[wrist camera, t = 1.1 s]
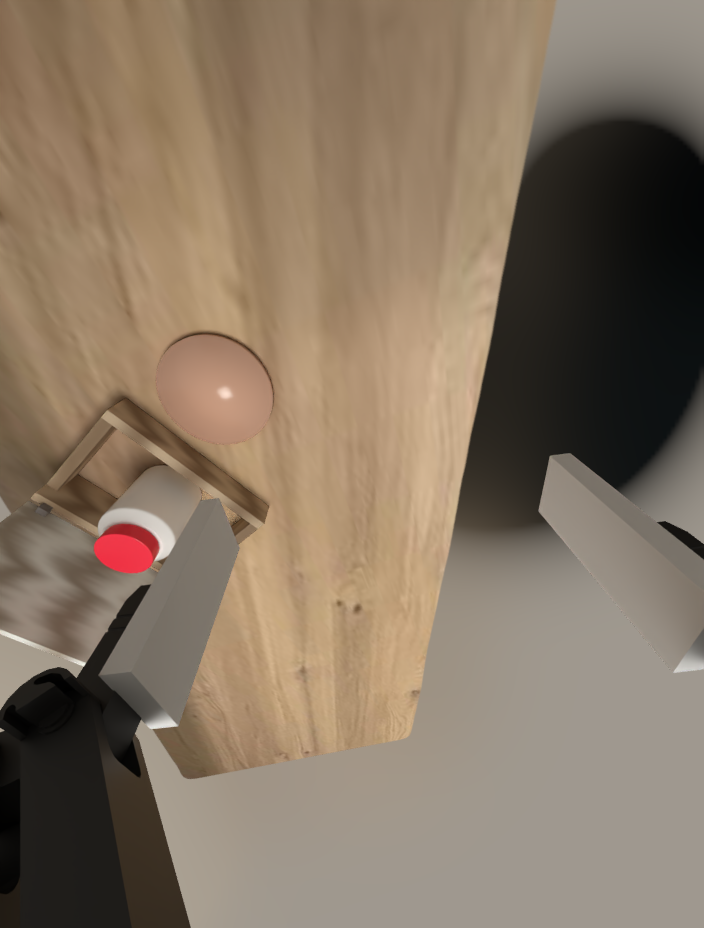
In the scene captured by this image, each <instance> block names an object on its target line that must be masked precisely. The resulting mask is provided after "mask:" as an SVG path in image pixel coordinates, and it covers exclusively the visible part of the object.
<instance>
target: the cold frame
mask: <svg viewBox="0 0 704 928" xmlns="http://www.w3.org/2000/svg"><path fill="white" fill-rule="evenodd" d="M116 429H118V430H119V431H121V432H122V433H124V434H125V435H126V436H128V437H129V438H131V439H132V440H133V441H135V442H136V443H138V444H139V445H140V446H142V447H143V448H145V449H146V450H147V451H149V452H150V453H152V454H153V455H155V456H156V457H157V458H159V459H160V460H162V461H163V462H164V463H166V464H167V465H169V466H170V467H171V468H173V469H174V470H176V471H177V472H178V473H180V474H181V475H183V476H184V477H186V478H187V479H188V480H190V481H191V482H193V483H194V484H195V485H197V486H198V487H200V488H201V489H202V490H204V491H205V492H207V493H208V494H209V495H211V496H212V497H214V498H215V499H216V498H219V499H220V502H221V503H222V504H224V505H225V506H226V507H228V508H229V509H231V510H232V511H233V512H235V513H236V514H238V515H239V516H240V517H242V518H241V519H240V520H239V521H238V522H236V523H235V524H234V525H233V526H232V527H231V528H232V531H233V533H234V536H235V538H236V540H237V543H238V544H240V543H241V542H242V541H243V540H245V539H246V538H247V537H248V536H250V535H251V534H252V533H253V532H255V531H256V530H257V529H258V528H260V527H261V526H262V525H263V524H264V523H265V519H266V516H267V512H268V509H269V506H268V505H266V504H265V503H264V502H263V501H261V500H260V499H259V498H257V497H256V496H255V495H253V494H252V493H251V492H249V491H248V490H247V489H245V488H244V487H243V486H241V485H240V484H239V483H238V482H236V481H235V480H234V479H232V478H231V477H230V476H228V475H227V474H226V473H224V472H223V471H222V470H220V469H219V468H218V467H216V466H215V465H214V464H212V463H211V462H210V461H209V460H207V459H206V458H205V457H203V456H202V455H201V454H199V453H198V452H197V451H195V450H194V449H193V448H191V447H190V446H189V445H187V444H186V443H185V442H183V441H182V440H181V439H180V438H178V437H177V436H176V435H174V434H173V433H172V432H170V431H169V430H168V429H166V428H165V427H164V426H162V425H161V424H160V423H158V422H157V421H156V420H155V419H153V418H152V417H151V416H149V415H148V414H147V413H145V412H144V411H143V410H141V409H140V408H139V407H137V406H136V405H135V404H133V403H132V402H131V401H129V400H128V399H127V398H125V399H124V400H122V401H121V402H119V403H117V404H116V405H114V406H113V407H111V408H109V409H108V410H107V411H106V412H105V413H104V414H103V416H102V417H101V418H100V419H99V421H98V422H97V423H96V424H95V425H94V427H93V428H92V429H91V430H90V432H89V433H88V434H87V435H86V436H85V438H84V439H83V440H82V441H81V443H80V444H79V445H78V446H77V447H76V449H75V450H74V451H73V452H72V454H71V455H70V456H69V457H68V458H67V460H66V461H65V462H64V463H63V465H62V466H61V467H60V468H59V469H58V471H57V472H56V473H55V474H54V476H53V477H52V478H51V479H50V480H49V482H48V483H47V484H46V485H45V486H44V487H42V488H41V489H40V490H38V491H37V492H36V493H35V494H34V495H33V496H32V498H31V499H32V500H34V501H36V502H38V503H39V504H41V505H40V506H37V505H35V504H34V503H32V502H30V501H28V502H27V503H25V504H24V505H23V506H21V507H20V508H19V509H17V510H16V511H15V512H14V513H12V514H11V515H10V516H9V517H7V518H6V519H4V520H3V521H2V522H0V634H1V635H4V636H6V637H9V638H12V639H14V640H17V641H19V642H22V643H24V644H27V645H30V646H32V647H35V648H37V649H40V650H43V651H45V652H48V653H50V654H53V655H56V656H58V657H61V658H63V659H66V660H68V661H71V662H74V663H76V664H79V665H81V666H85V664H86V662H87V661H88V659H89V658H90V656H91V655H92V653H93V651H94V650H95V648H96V647H97V645H98V643H99V642H100V640H101V639H102V637H103V636H104V634H105V632H108V628H109V626H110V624H111V623H112V621H113V620H114V619H116V615H117V613H118V612H119V610H120V609H121V607H122V606H123V604H124V602H125V601H126V599H127V598H129V597H130V596H131V595H132V594H133V593H134V592H135V591H136V590H137V589H138V588H139V587H140V586H141V585H150V584H152V583H153V581H154V579H155V578H156V576H157V574H158V572H156V571H154V570H153V569H151V568H148V569H147V570H145V571H143V572H139V573H123V572H119V571H116V570H113V569H111V568H109V567H107V566H106V565H104V564H103V563H102V562H101V561H100V560H99V559H98V558H97V556H96V555H95V552H94V544H95V542H96V541H97V538H95V537H93V536H91V535H89V534H88V533H86V532H84V531H82V530H80V529H79V528H77V527H75V526H73V525H71V524H70V523H68V522H66V521H64V520H62V519H61V518H59V517H57V516H55V515H53V514H52V513H50V512H51V510H52V511H54V512H55V513H57V514H59V515H61V516H63V517H64V518H66V519H68V520H70V521H72V522H73V523H75V524H77V525H79V526H81V527H82V528H84V529H86V530H88V531H90V532H91V533H93V534H95V535H97V536H98V537H100V536H99V533H98V523H99V520H100V518H101V517H102V515H103V514H104V513H105V512H106V511H107V510H108V509H109V508H110V507H111V506H112V505H113V504H114V503H115V502H116V500H117V499H116V498H115V497H113V496H111V495H110V494H108V493H106V492H105V491H103V490H102V489H100V488H98V487H97V486H95V485H94V484H92V483H90V482H89V481H87V480H86V479H84V478H82V477H81V476H79V475H78V473H79V472H80V471H81V470H82V469H83V468H84V466H85V465H86V464H87V463H88V462H89V461H90V459H91V458H92V457H93V456H94V455H95V454H96V452H97V451H98V450H99V449H100V448H101V447H102V445H103V444H104V443H105V442H106V441H107V440H108V438H109V437H110V436H111V435H112V434H113V432H114V431H115V430H116ZM167 557H168V556H167ZM167 557H165V558H164V559H161V560H159V561H154V562H153V563H152V565H151V566H152V567H154V568H156V569H158V570H159V571H160V569H161V567H162V566H163V564H164V562H165V560H166V559H167Z"/></svg>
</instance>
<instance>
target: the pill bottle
mask: <svg viewBox="0 0 704 928" xmlns="http://www.w3.org/2000/svg"><path fill="white" fill-rule="evenodd" d="M201 499H202V492H201V489H200V487H198V486H197V485H195V484H194V483H193V482H191V481H190V480H188V479H187V478H186V477H184V476H183V475H181V474H180V473H178V472H177V471H176V470H174V469H173V468H171V467H170V466H166V465H160V466H154V467H151V468H148V469H146V470H145V471H144V472H143V473H142V474H141V475H140V476H139V477H138V478H137V479H136V480H135V481H134V482H133V483H132V484H131V486H130V487H129V488H128V489H127V490H126V491H125V492H124V493H123V494H122V495H121V496H120V497H119V498H118V499H117V500H116V502H115V503H114V504H113V505H112V506H111V507H110V508H109V509H108V510H107V511H106V512H105V513H104V514H103V515H102V517H101V518H100V520H99V523H98V533H99V536H100V537H99V538H98V539H97V541H96V542H95V544H94V552H95V555H96V556H97V558H98V559H99V560H100V561H101V562H102V563H103V564H104V565H106V566H107V567H109V568H111V569H113V570H116V571H119V572H123V573H139V572H143V571H145V570H147V569H148V568H149V567H150V566H151V565H152V563H153V562H154V561H159V560H161V559H164V558H165V557H167V556H168V555H169V553H170V552H171V550H172V548H173V547H174V545H175V543H176V541H177V540H178V538H179V536H180V535H181V533H182V531H183V529H184V528H185V526H186V524H187V523H188V521H189V519H190V517H191V516H192V514H193V512H194V511H195V509H196V507H197V505H198V504H199V502H200V501H201Z"/></svg>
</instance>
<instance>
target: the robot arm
mask: <svg viewBox="0 0 704 928" xmlns="http://www.w3.org/2000/svg"><path fill="white" fill-rule="evenodd" d="M539 512H540V513H541V515H542V516H543V517H544V518H545V519H546V521H547V522H548V523H549V524H550V525H551V527H552V528H553V529H554V530H555V531H556V533H557V534H558V535H559V536H560V537H561V539H562V540H563V541H564V542H565V544H566V545H567V546H568V547H569V548H570V550H571V551H572V552H573V553H574V554H575V556H576V557H577V558H578V559H579V560H580V562H581V563H582V564H583V565H584V566H585V568H586V569H587V570H588V571H589V572H590V574H591V575H592V576H593V577H594V578H595V580H596V581H597V582H598V583H599V584H600V586H601V587H602V588H603V589H604V590H605V592H606V593H607V594H608V595H609V596H610V597H611V599H612V600H613V601H614V602H615V604H616V605H617V606H618V607H619V609H620V610H621V611H622V612H623V613H624V614H625V616H626V617H627V618H628V619H629V621H630V622H631V623H632V624H633V625H634V627H635V628H636V629H637V630H638V631H639V633H640V634H641V635H642V636H643V637H644V639H645V640H646V641H647V642H648V643H649V645H650V646H651V647H652V648H653V649H654V651H655V652H656V653H657V654H658V656H659V657H660V658H661V659H662V660H663V662H664V663H665V664H666V665H667V666H668V668H669V669H670V670H671V671H672V672H673V673H675V672H684V671H694V670H702V669H704V544H703V543H701V542H700V541H699V540H697V539H696V538H695V537H694V536H692V535H691V534H689V533H688V532H687V531H685V530H683V529H680V528H678V527H676V526H674V525H672V524H670V523H668V522H666V521H664V522H656V521H654V520H653V519H652V518H651V517H649V516H648V515H647V514H645V513H644V512H643V511H642V510H641V509H639V508H638V507H637V506H635V505H634V504H633V503H632V502H631V501H629V500H628V499H627V498H625V497H624V496H623V495H622V494H620V493H619V492H618V491H617V490H615V489H614V488H613V487H612V486H610V485H609V484H608V483H607V482H605V481H604V480H603V479H602V478H600V477H599V476H598V475H596V474H595V473H594V472H593V471H592V470H590V469H589V468H588V467H586V466H585V465H584V464H583V463H582V462H580V461H579V460H578V459H576V458H575V457H574V456H573V455H571V454H570V453H569V454H561V455H553V456H550V459H549V464H548V468H547V473H546V479H545V483H544V488H543V493H542V497H541V503H540V507H539ZM238 551H239V545H238V543H237V540H236V538H235V536H234V533H233V531H232V528H231V526H230V523H229V521H228V519H227V516H226V514H225V511H224V509H223V506H222V504H221V502H220V499H219V498H216V499H209V500H201V501H200V502H199V504H198V505H197V507H196V509H195V511H194V512H193V514H192V516H191V517H190V519H189V521H188V523H187V524H186V526H185V528H184V529H183V531H182V533H181V535H180V536H179V538H178V540H177V541H176V543H175V545H174V547H173V548H172V550H171V552H170V553H169V555H168V557H167V559H166V560H165V562H164V564H163V566H162V567H161V569H160V571H159V572H158V574H157V576H156V578H155V579H154V581H153V583H152V584H150V585H141V586H140V587H139V588H138V589H137V590H136V591H135V592H134V593H133V594H132V595H131V596H130V597H129V598H127V599H126V601H125V602H124V604H123V606H122V607H121V609H120V610H119V612H118V613H117V615H116V619H114V620H113V621H112V623H111V624H110V626H109V628H108V632H105V634H104V636H103V637H102V639H101V640H100V642H99V643H98V645H97V647H96V648H95V650H94V651H93V653H92V655H91V656H90V658H89V659H88V661H87V662H86V664H85V666H84V667H83V669H82V670H81V672H80V674H79V675H78V677H77V678H76V677H75V676H73V674H71V673H70V672H69V671H68V670H67V669H64V668H60V667H57V668H53V669H49V670H46V671H44V672H42V673H40V674H38V675H36V676H34V677H33V678H31V679H30V680H28V681H27V682H26V683H24V684H23V685H22V686H20V687H19V688H18V689H17V690H16V691H15V692H14V693H13V694H12V695H11V696H10V698H8V700H7V701H6V703H5V704H4V706H3V707H2V709H1V710H0V728H2V729H3V730H5V731H3V732H0V928H191V927H190V924H189V920H188V916H187V913H186V909H185V905H184V902H183V898H182V894H181V891H180V887H179V883H178V880H177V876H176V873H175V869H174V865H173V862H172V858H171V854H170V851H169V847H168V844H167V840H166V836H165V833H164V830H163V825H162V822H161V819H160V815H159V811H158V808H157V804H156V800H155V797H154V793H153V790H152V786H151V782H150V779H149V775H148V771H147V768H146V764H145V760H144V757H143V754H142V749H141V746H140V742H139V740H138V738H137V737H136V735H135V732H136V730H137V727H138V725H139V723H140V720H142V721H143V722H144V723H145V724H146V725H147V726H148V727H149V728H150V729H156V728H165V727H175V726H178V725H179V722H180V719H181V716H182V714H183V711H184V708H185V705H186V702H187V699H188V696H189V693H190V690H191V687H192V685H193V682H194V679H195V676H196V673H197V670H198V667H199V664H200V661H201V658H202V656H203V653H204V650H205V647H206V644H207V641H208V638H209V635H210V632H211V629H212V627H213V624H214V621H215V618H216V615H217V612H218V609H219V606H220V603H221V600H222V598H223V595H224V592H225V589H226V586H227V583H228V580H229V577H230V574H231V571H232V569H233V566H234V563H235V560H236V557H237V554H238Z"/></svg>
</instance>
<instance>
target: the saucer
mask: <svg viewBox="0 0 704 928" xmlns="http://www.w3.org/2000/svg"><path fill="white" fill-rule="evenodd" d="M156 386H157V392H158V395H159V398H160V401H161V403H162V405H163V407H164V409H165V410H166V412H167V414H168V415H169V416H170V417H171V419H172V420H173V421H174V422H175V423H176V424H177V425H178V426H179V427H180V428H182V429H183V430H184V431H186V432H187V433H189V434H190V435H192V436H194V437H196V438H198V439H201V440H203V441H206V442H210V443H215V444H236V443H240V442H243V441H246V440H248V439H250V438H252V437H253V436H255V435H256V434H257V433H259V432H260V431H261V429H262V428H263V427H264V426H265V424H266V423H267V421H268V419H269V417H270V414H271V411H272V408H273V402H274V394H273V387H272V383H271V380H270V377H269V375H268V373H267V371H266V369H265V367H264V366H263V365H262V363H261V362H260V360H259V359H258V358H257V357H256V356H255V355H254V354H253V353H252V352H251V351H250V350H248V349H247V348H246V347H244V346H243V345H241V344H240V343H238V342H236V341H234V340H232V339H229V338H227V337H223V336H219V335H213V334H199V335H193V336H190V337H187V338H184V339H182V340H180V341H178V342H176V343H175V344H174V345H172V346H171V347H170V348H169V349H168V350H167V351H166V352H165V353H164V355H163V356H162V358H161V360H160V362H159V365H158V368H157V374H156Z"/></svg>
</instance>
